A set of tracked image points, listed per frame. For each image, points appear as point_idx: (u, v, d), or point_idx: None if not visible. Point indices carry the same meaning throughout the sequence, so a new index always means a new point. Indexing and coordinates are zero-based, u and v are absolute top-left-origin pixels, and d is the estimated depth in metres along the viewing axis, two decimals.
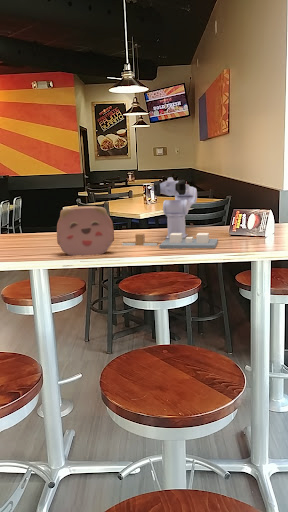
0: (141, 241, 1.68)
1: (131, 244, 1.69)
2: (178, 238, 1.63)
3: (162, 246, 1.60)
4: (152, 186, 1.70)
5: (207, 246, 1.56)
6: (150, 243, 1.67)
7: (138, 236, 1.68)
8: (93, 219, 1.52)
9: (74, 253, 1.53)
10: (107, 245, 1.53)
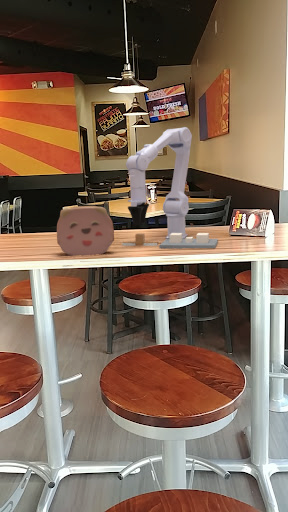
0: (141, 241, 1.68)
1: (131, 244, 1.69)
2: (178, 238, 1.63)
3: (162, 246, 1.60)
4: None
5: (207, 246, 1.56)
6: (150, 243, 1.67)
7: (138, 236, 1.68)
8: (93, 219, 1.52)
9: (74, 253, 1.53)
10: (107, 245, 1.53)
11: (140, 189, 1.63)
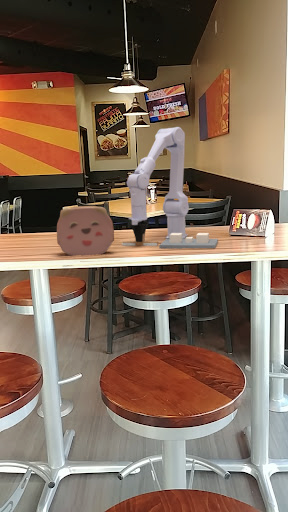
0: None
1: (131, 244, 1.69)
2: (178, 238, 1.63)
3: (162, 246, 1.60)
4: None
5: (207, 246, 1.56)
6: (150, 243, 1.67)
7: None
8: (93, 219, 1.52)
9: (74, 253, 1.53)
10: (107, 245, 1.53)
11: (141, 207, 1.64)
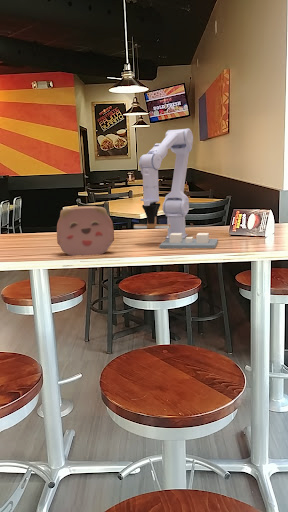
0: (153, 224, 1.66)
1: (143, 227, 1.67)
2: (178, 238, 1.63)
3: (162, 246, 1.60)
4: None
5: (207, 246, 1.56)
6: (162, 226, 1.65)
7: None
8: (93, 219, 1.52)
9: (74, 253, 1.53)
10: (107, 245, 1.53)
11: (153, 188, 1.62)
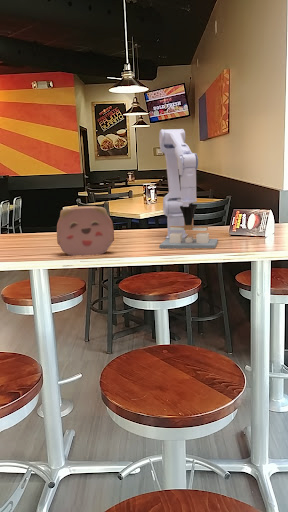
0: (190, 225, 1.62)
1: (179, 228, 1.63)
2: (178, 238, 1.63)
3: (162, 246, 1.60)
4: None
5: (207, 246, 1.56)
6: (200, 228, 1.62)
7: None
8: (93, 219, 1.52)
9: (74, 253, 1.53)
10: (107, 245, 1.53)
11: (191, 189, 1.58)
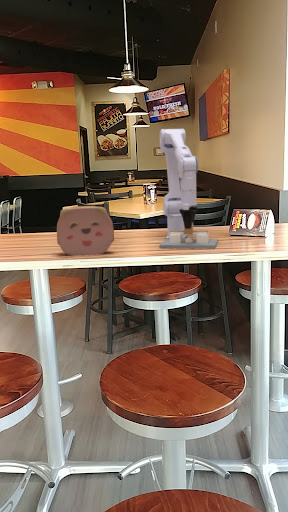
0: (190, 230, 1.63)
1: (179, 233, 1.63)
2: (178, 238, 1.63)
3: (162, 246, 1.60)
4: None
5: (207, 246, 1.56)
6: (200, 232, 1.62)
7: None
8: (93, 219, 1.52)
9: (74, 253, 1.53)
10: (107, 245, 1.53)
11: (191, 192, 1.58)
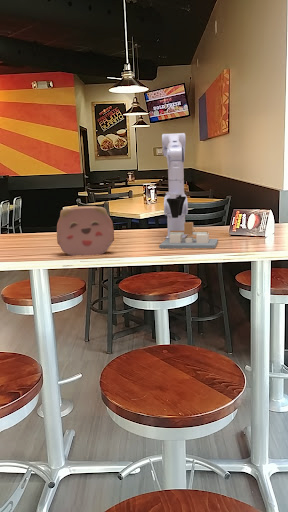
0: (190, 230, 1.63)
1: (179, 233, 1.63)
2: (178, 238, 1.63)
3: (162, 246, 1.60)
4: None
5: (207, 246, 1.56)
6: (200, 232, 1.62)
7: (188, 225, 1.62)
8: (93, 219, 1.52)
9: (74, 253, 1.53)
10: (107, 245, 1.53)
11: (179, 181, 1.62)
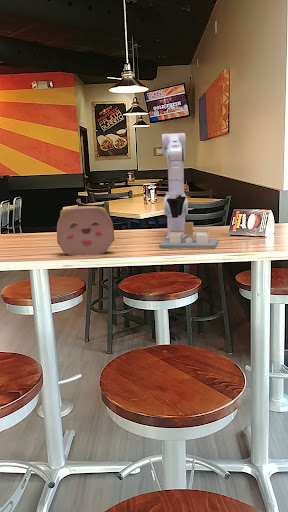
0: (190, 230, 1.63)
1: (179, 233, 1.63)
2: (178, 238, 1.63)
3: (162, 246, 1.60)
4: None
5: (207, 246, 1.56)
6: (200, 232, 1.62)
7: (188, 225, 1.62)
8: (93, 219, 1.52)
9: (74, 253, 1.53)
10: (107, 245, 1.53)
11: (179, 181, 1.62)
